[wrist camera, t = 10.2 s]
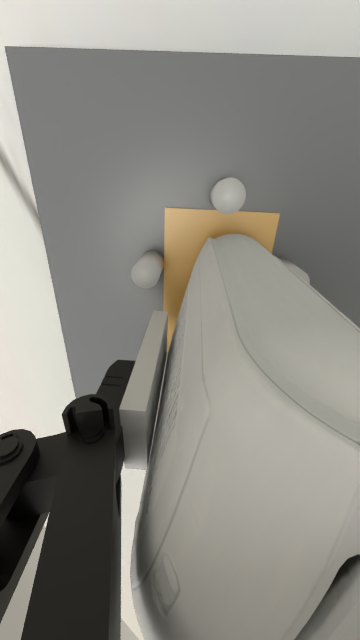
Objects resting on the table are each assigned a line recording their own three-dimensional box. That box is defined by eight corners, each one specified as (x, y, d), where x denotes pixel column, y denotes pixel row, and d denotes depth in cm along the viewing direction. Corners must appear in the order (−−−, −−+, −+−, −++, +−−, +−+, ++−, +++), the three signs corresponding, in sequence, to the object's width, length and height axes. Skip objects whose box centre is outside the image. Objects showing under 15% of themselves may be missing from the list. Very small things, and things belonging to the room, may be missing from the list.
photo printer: (218, 392, 17) (258, 741, 6) (158, 377, 17) (90, 718, 6) (284, 245, 13) (884, 614, 2) (203, 221, 12) (262, 479, 1)
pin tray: (458, 74, 11) (567, 25, 8) (308, 434, 22) (328, 476, 19) (21, 59, 12) (-46, 8, 8) (87, 418, 23) (69, 456, 20)
